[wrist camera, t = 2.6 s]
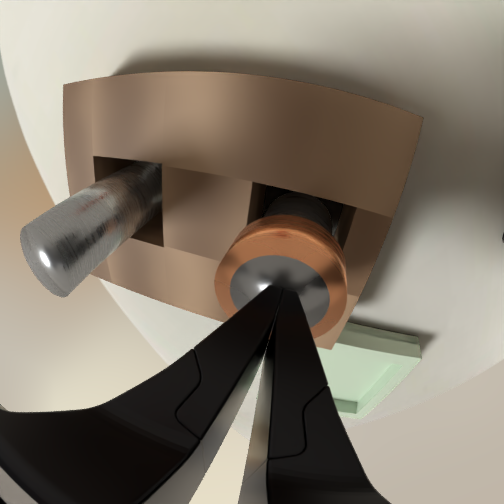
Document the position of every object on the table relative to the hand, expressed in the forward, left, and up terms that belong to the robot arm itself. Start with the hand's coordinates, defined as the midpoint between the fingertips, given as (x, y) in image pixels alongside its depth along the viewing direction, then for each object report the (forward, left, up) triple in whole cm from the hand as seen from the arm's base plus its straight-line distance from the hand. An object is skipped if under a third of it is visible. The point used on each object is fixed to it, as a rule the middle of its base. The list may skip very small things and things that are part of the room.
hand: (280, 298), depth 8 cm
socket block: (+5, 0, -7) cm, 8 cm away
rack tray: (-5, +12, -7) cm, 15 cm away
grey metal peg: (+8, 0, -7) cm, 11 cm away
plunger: (0, 0, -5) cm, 5 cm away
